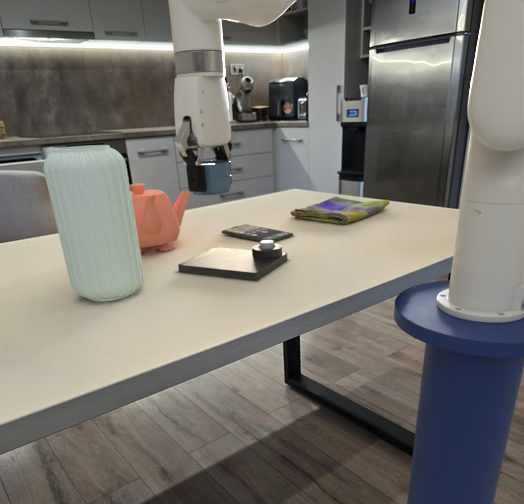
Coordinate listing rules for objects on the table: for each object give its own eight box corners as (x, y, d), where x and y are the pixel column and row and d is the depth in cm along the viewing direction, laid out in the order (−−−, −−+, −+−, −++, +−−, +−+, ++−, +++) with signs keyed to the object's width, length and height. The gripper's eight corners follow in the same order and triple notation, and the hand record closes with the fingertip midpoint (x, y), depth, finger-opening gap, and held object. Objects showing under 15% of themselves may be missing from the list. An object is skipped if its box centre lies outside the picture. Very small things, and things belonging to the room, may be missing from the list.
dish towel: (392, 209, 131) (393, 198, 130) (344, 226, 115) (344, 214, 114) (338, 204, 142) (338, 194, 140) (287, 219, 125) (286, 208, 124)
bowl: (239, 189, 83) (237, 160, 81) (218, 196, 77) (215, 164, 75) (204, 188, 86) (201, 160, 84) (181, 195, 80) (178, 164, 78)
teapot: (196, 239, 109) (189, 177, 103) (163, 261, 95) (152, 190, 89) (134, 238, 114) (124, 179, 108) (93, 258, 99) (78, 191, 93)
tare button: (276, 247, 90) (275, 240, 89) (270, 250, 88) (269, 243, 87) (263, 246, 91) (263, 239, 90) (257, 249, 89) (257, 242, 88)
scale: (287, 259, 92) (287, 244, 90) (256, 280, 81) (255, 263, 80) (216, 253, 98) (215, 238, 97) (178, 272, 88) (176, 256, 86)
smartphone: (269, 243, 103) (269, 238, 103) (221, 235, 113) (221, 230, 112) (293, 236, 109) (293, 230, 108) (245, 228, 118) (245, 223, 117)
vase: (125, 278, 86) (100, 143, 76) (159, 291, 78) (137, 144, 68) (62, 295, 79) (26, 149, 69) (93, 312, 72) (58, 151, 62)
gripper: (209, 71, 82) (218, 180, 90) (144, 66, 68) (161, 195, 76) (248, 68, 79) (253, 181, 87) (188, 62, 65) (201, 197, 73)
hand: (210, 187), depth 81 cm, fingers closed on bowl, 7 cm apart
